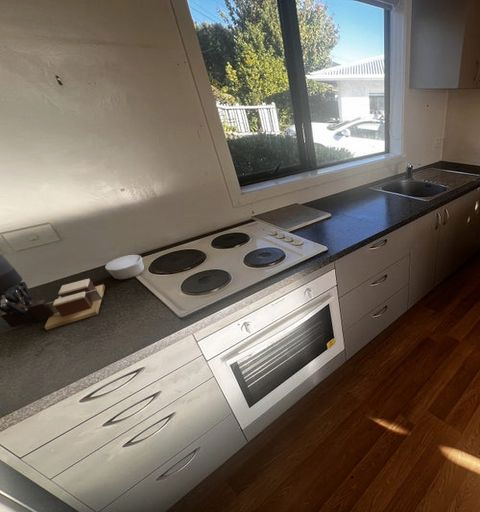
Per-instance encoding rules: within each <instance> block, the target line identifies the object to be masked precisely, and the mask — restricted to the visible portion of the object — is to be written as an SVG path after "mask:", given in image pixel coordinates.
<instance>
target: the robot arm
mask: <svg viewBox="0 0 480 512" xmlns="http://www.w3.org/2000/svg"><path fill="white" fill-rule="evenodd" d="M30 291H31V290H30V289H29V287H28V286H27V283H26V282H25V281H23V277H22V276H21V275H20V274H19V272H18V271H17V269H15V268H14V266H13V265H12V264H11V263H10V261H9V260H8V259H7V258H6V257H5V256H4V255H3V254H2V253H0V311H1V312H5V313H7V314H8V315H10V316H16V315H19V316H20V317H21V319H22V320H23V321H24V322H25V323H27V324H30V323H33V322H36V321H35V319H36V318H35V317H34V316H33V314H32V313H31V312H30V311H29V310H28V309H27V307H26V306H25V305H26V304H30V303H33V301H32V300H33V299H34V297H33V296H32V294H31V292H30ZM19 306H20V307H21V308H20V307H19ZM32 321H33V322H32ZM29 322H30V323H29Z"/></svg>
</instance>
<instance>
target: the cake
mask: <svg viewBox="0 0 480 512" xmlns="http://www.w3.org/2000/svg"><path fill="white" fill-rule="evenodd" d="M95 287H96V286H95V285H94V283H93V282H92V280H91V279H90V278H85V279H81V280H78V281H75V282H70V283H67V284H63V285H61V287H60V289H59V291H58V295H59V296H61V298H63V297H66V296H70V295H73V294H77V293H81V292H84V291H85V292H88V291H92V290H95V289H96V288H95ZM96 290H97V289H96Z"/></svg>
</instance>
